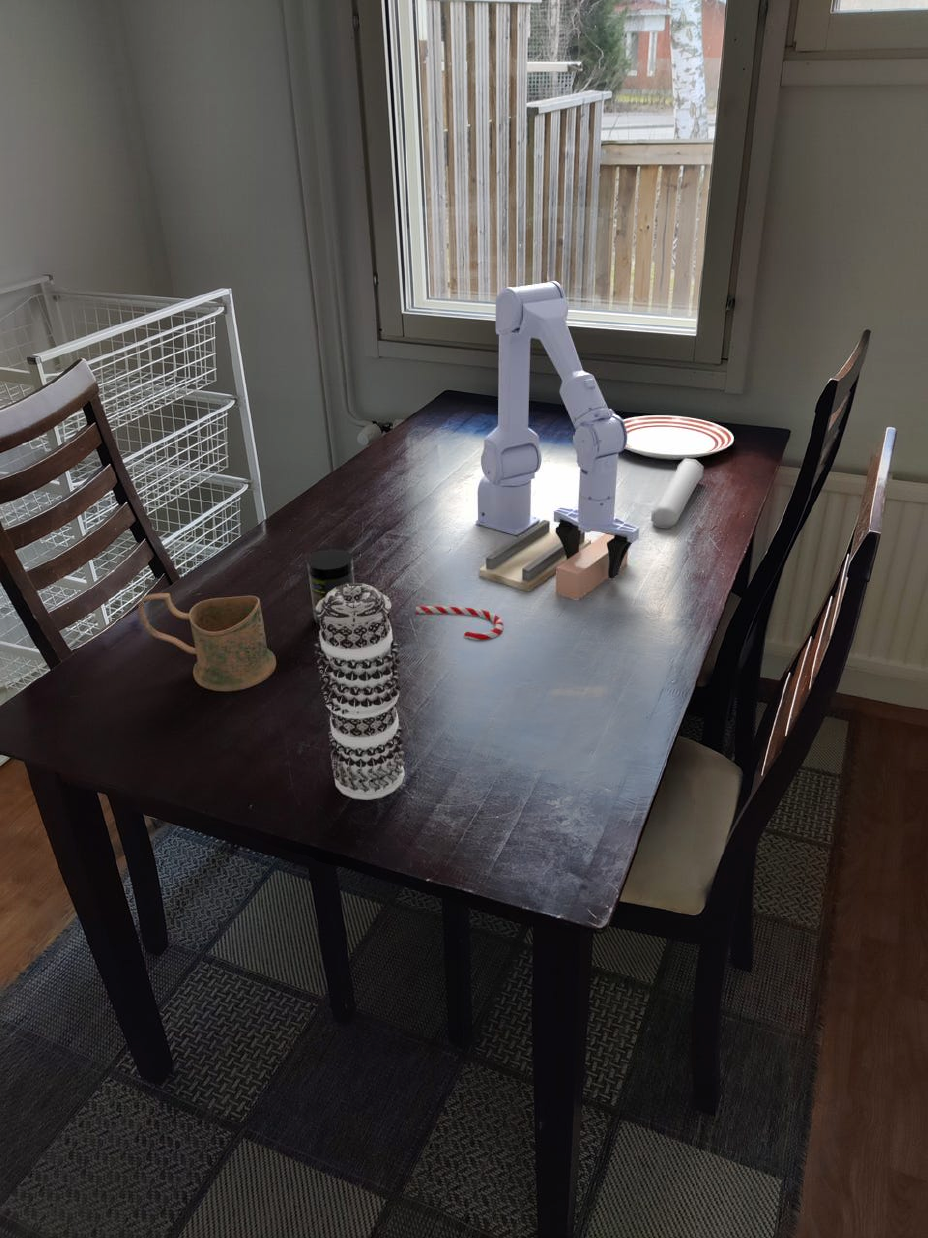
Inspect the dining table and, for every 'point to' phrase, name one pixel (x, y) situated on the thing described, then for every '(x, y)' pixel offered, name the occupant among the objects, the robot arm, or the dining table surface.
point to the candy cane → (468, 611)
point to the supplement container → (328, 573)
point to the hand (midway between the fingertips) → (592, 570)
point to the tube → (677, 493)
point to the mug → (223, 641)
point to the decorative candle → (361, 690)
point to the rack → (528, 558)
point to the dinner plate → (675, 437)
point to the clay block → (585, 569)
